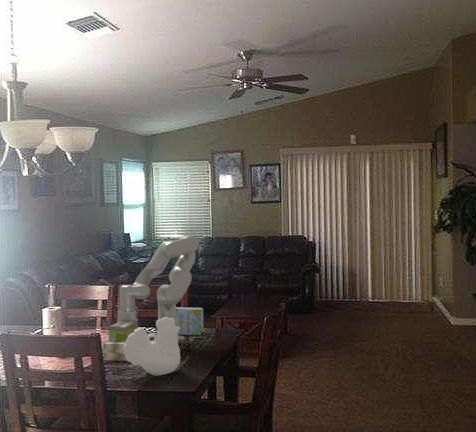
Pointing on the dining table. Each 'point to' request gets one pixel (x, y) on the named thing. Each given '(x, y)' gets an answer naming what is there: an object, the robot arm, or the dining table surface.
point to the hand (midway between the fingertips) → (127, 343)
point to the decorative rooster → (155, 348)
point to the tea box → (121, 330)
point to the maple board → (114, 351)
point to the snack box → (189, 320)
